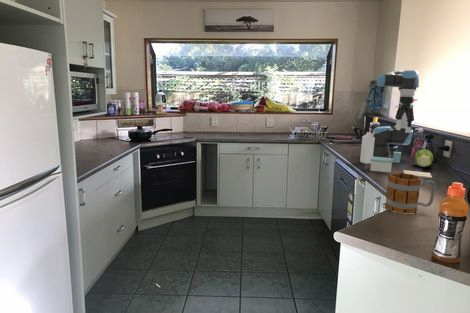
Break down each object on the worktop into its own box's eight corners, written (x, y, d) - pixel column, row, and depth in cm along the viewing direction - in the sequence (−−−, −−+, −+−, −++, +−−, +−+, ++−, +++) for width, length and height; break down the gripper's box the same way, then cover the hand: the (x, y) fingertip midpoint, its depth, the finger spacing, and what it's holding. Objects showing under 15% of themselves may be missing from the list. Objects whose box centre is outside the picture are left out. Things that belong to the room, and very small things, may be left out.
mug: (388, 213, 148) (392, 179, 145) (381, 203, 161) (384, 171, 158) (438, 217, 145) (443, 182, 142) (427, 206, 158) (431, 174, 155)
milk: (367, 162, 248) (370, 131, 244) (372, 164, 242) (375, 133, 238) (359, 162, 247) (362, 131, 243) (364, 164, 241) (367, 133, 237)
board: (403, 171, 224) (403, 170, 224) (429, 174, 218) (430, 172, 218) (404, 175, 214) (404, 173, 214) (431, 178, 208) (431, 176, 208)
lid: (371, 157, 230) (372, 148, 228) (399, 160, 223) (400, 151, 222) (370, 160, 220) (371, 151, 219) (400, 163, 213) (401, 154, 212)
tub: (370, 168, 230) (372, 157, 229) (390, 170, 226) (391, 159, 224) (370, 171, 221) (371, 160, 220) (390, 173, 217) (391, 162, 215)
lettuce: (412, 169, 231) (414, 152, 229) (413, 163, 249) (415, 147, 247) (432, 171, 226) (434, 154, 224) (431, 165, 244) (434, 149, 242)
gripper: (392, 95, 223) (388, 128, 228) (410, 96, 199) (405, 133, 203) (403, 96, 223) (400, 129, 227) (423, 96, 199) (418, 133, 203)
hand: (402, 131), depth 215 cm, fingers open, 13 cm apart
